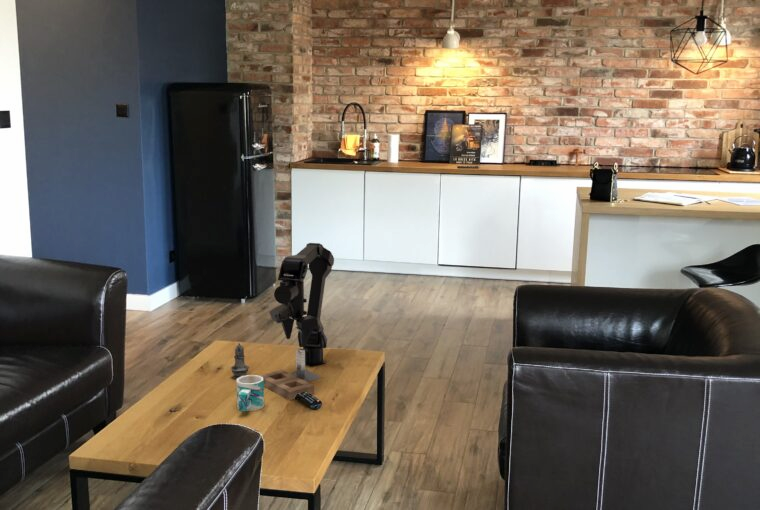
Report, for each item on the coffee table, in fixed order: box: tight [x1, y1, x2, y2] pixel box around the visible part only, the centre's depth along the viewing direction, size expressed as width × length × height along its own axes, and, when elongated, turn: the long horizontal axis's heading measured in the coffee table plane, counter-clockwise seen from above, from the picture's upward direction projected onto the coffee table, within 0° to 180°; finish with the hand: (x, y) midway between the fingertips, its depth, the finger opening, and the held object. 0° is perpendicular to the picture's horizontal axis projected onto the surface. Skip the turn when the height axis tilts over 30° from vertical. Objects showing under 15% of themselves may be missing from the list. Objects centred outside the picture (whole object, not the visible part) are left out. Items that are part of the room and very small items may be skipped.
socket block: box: [258, 369, 315, 401], centre depth 255 cm, size 18×9×3 cm, turn 40°
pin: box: [295, 348, 306, 379], centre depth 264 cm, size 3×3×10 cm
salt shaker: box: [230, 342, 250, 381], centre depth 264 cm, size 6×6×12 cm
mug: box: [236, 374, 265, 412], centre depth 240 cm, size 8×12×8 cm
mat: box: [290, 368, 323, 383], centre depth 267 cm, size 10×10×1 cm
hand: (295, 342), depth 263 cm, fingers open, 9 cm apart
